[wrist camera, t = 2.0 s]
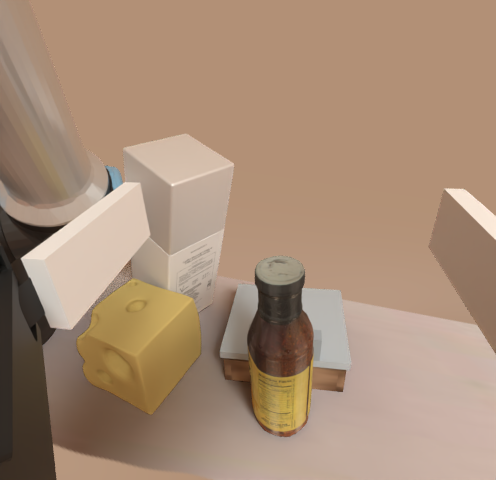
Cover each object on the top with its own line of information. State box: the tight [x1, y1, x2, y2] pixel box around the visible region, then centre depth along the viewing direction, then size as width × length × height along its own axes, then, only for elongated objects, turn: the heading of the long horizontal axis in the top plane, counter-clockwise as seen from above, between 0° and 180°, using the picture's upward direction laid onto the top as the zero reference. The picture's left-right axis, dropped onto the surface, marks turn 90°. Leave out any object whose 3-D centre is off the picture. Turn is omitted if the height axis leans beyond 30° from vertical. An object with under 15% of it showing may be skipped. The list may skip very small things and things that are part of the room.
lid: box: [220, 284, 351, 370], centre depth 43 cm, size 15×13×4 cm
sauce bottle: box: [247, 256, 314, 437], centre depth 32 cm, size 7×6×20 cm
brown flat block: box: [224, 358, 346, 392], centre depth 45 cm, size 14×13×4 cm
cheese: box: [76, 278, 201, 415], centre depth 41 cm, size 10×11×10 cm
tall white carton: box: [123, 134, 234, 312], centre depth 45 cm, size 9×9×25 cm
